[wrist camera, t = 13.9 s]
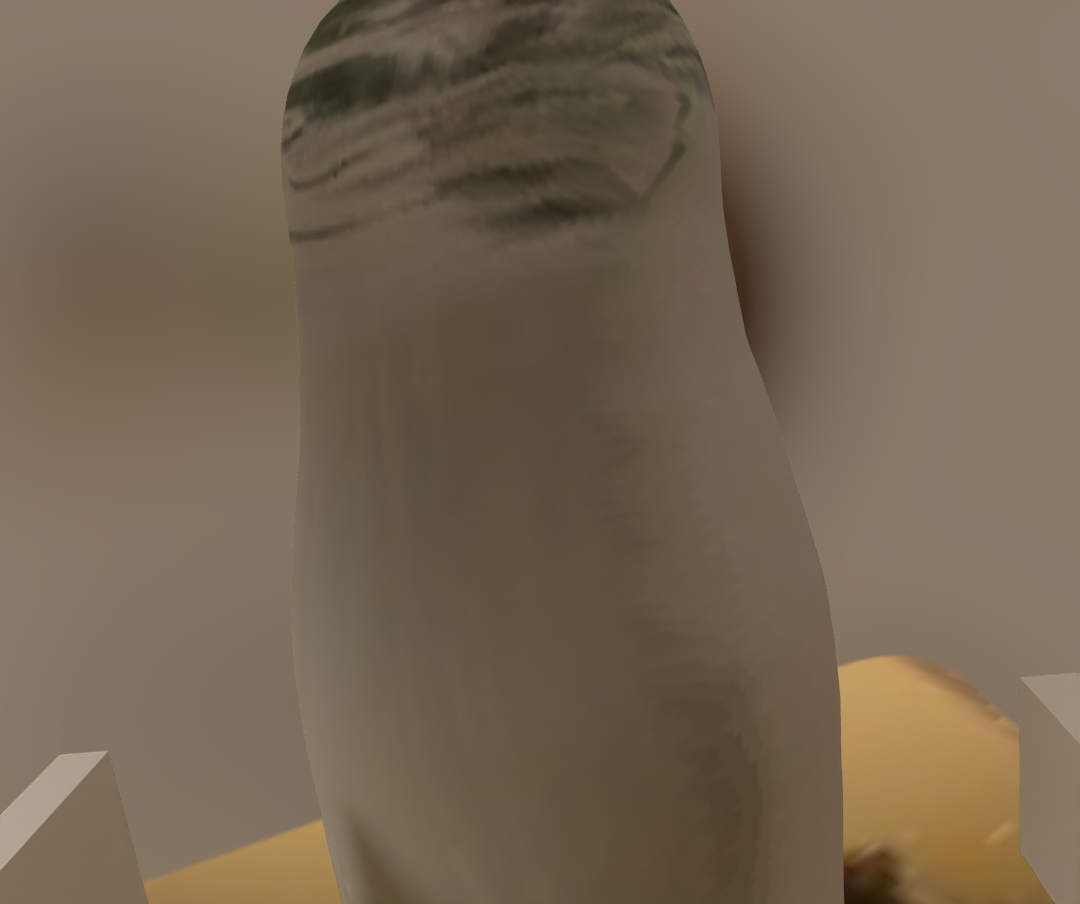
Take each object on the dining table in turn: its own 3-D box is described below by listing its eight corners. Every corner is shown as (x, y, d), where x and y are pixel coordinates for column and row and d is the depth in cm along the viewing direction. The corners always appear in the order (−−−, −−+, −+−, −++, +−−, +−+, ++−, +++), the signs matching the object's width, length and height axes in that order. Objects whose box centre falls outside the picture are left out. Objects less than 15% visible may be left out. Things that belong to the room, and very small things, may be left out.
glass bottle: (350, 1261, 23) (55, 19, 16) (630, 995, 30) (501, 33, 23) (671, 1682, 16) (379, -235, 9) (946, 1206, 22) (893, -107, 16)
